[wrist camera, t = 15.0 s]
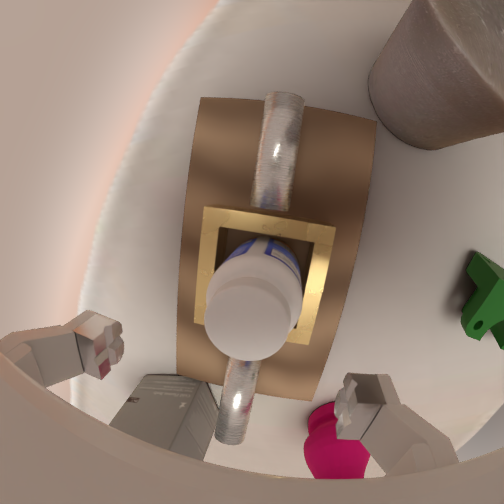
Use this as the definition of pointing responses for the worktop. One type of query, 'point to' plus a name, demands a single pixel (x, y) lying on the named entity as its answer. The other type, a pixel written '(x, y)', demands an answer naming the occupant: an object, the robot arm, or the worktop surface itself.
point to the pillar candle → (442, 73)
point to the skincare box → (170, 414)
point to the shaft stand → (271, 234)
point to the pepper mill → (332, 448)
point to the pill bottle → (254, 299)
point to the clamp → (485, 300)
